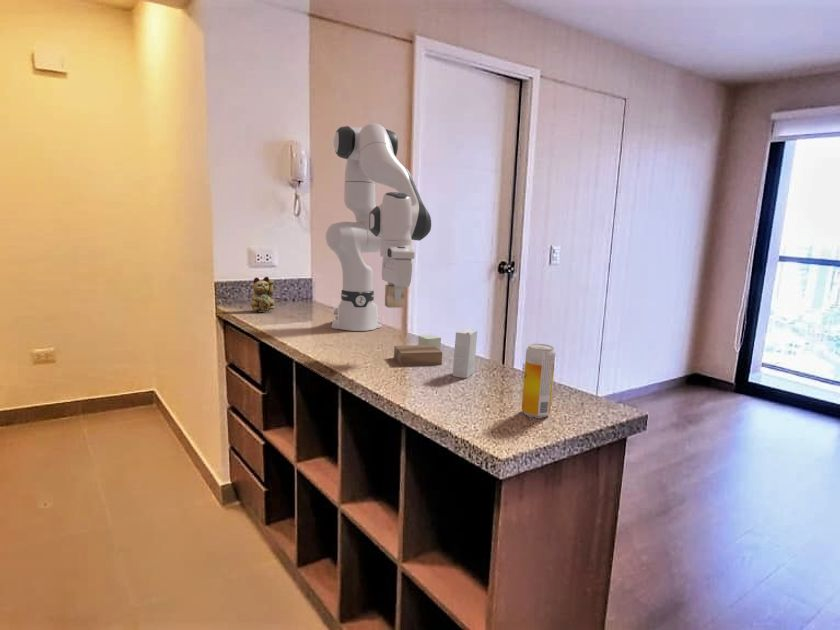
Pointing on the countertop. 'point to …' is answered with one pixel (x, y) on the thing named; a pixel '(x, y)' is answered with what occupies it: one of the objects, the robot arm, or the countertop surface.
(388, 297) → the oak block
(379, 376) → the countertop surface
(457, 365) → the skincare box
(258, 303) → the decorative figurine
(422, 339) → the sage cube
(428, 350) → the walnut block
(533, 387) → the beer can
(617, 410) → the countertop surface
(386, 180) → the robot arm
